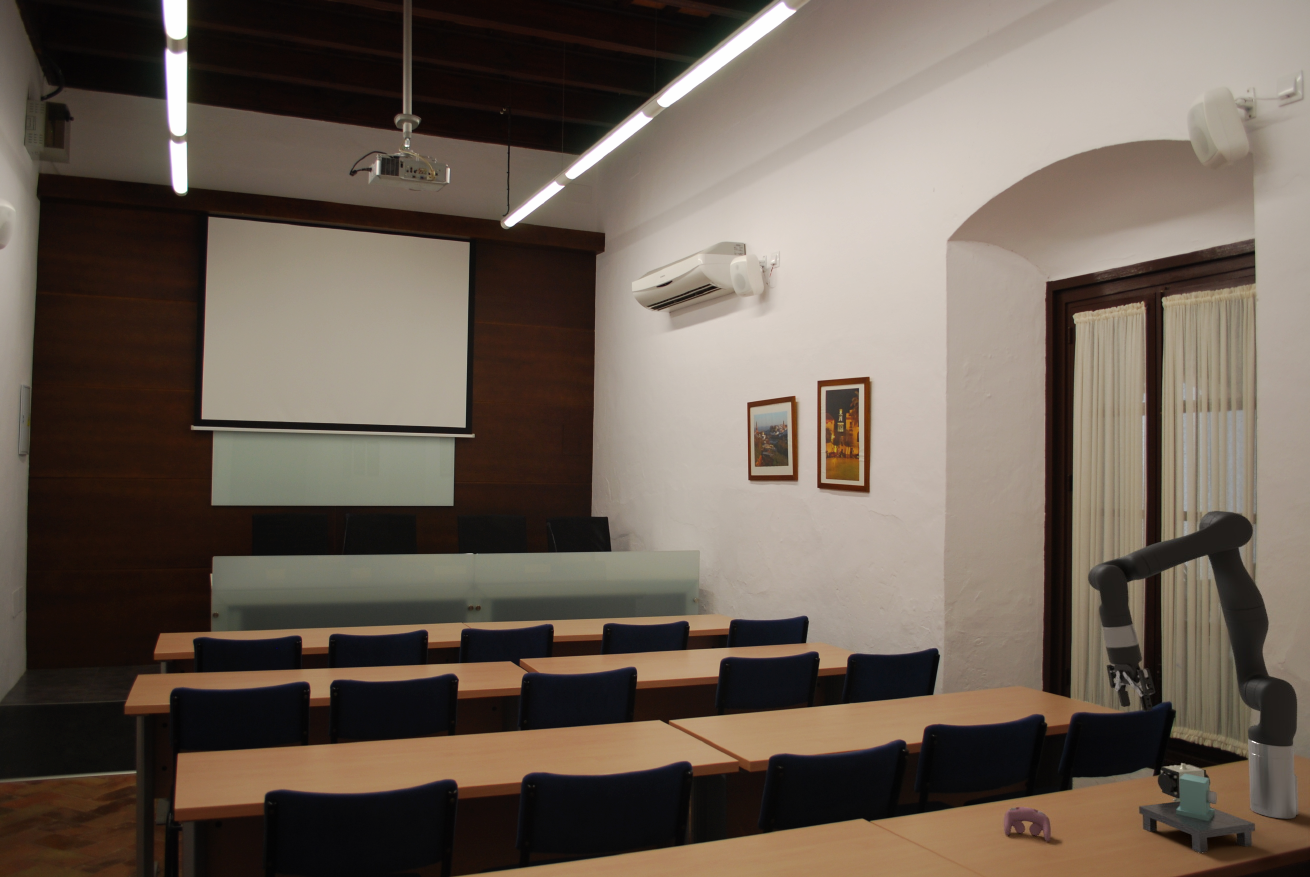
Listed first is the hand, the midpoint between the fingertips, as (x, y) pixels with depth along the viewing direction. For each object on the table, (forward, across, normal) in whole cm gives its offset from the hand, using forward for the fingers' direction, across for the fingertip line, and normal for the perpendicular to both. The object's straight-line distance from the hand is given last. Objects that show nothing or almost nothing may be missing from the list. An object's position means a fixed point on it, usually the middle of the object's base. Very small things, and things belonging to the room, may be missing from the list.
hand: (1136, 708), depth 220 cm
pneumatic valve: (+26, -1, -5) cm, 27 cm away
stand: (+26, -16, +3) cm, 30 cm away
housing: (+21, -16, +2) cm, 26 cm away
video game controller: (+20, -12, +41) cm, 47 cm away
